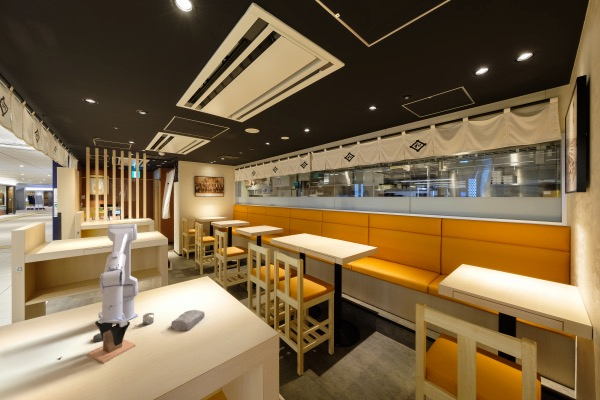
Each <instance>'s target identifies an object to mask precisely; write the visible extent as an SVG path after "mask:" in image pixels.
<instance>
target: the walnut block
mask: <svg viewBox="0 0 600 400" xmlns="http://www.w3.org/2000/svg"><path fill="white" fill-rule="evenodd" d="M102 346H103V350H104V351H106V352H108V353H111V352H113V351H115V350H117V349H119V348H121V347H122V343H121V344H119V345H117V346H115V345H114V341H113V335H112V333H111V331H110V330H109V331H107V332H105V333H103V340H102Z"/></svg>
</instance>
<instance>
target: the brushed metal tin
mask: <svg viewBox="0 0 600 400" xmlns="http://www.w3.org/2000/svg"><path fill="white" fill-rule="evenodd" d="M154 319H155V313H154V312H149V313H145V314H143V315H142V326H149V325H153V324H154Z"/></svg>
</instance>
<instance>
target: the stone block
mask: <svg viewBox="0 0 600 400" xmlns="http://www.w3.org/2000/svg"><path fill="white" fill-rule="evenodd" d="M205 315H206V314H205V311H203V310H198V309H191V310H187V311H185V312H183V313H182V314H180V315H179V316H178V317H176V318H175V319H173V320H172V321H171V328H172V330H177V331H190V330H192V329H193V328H194V327H195V326H196V325H197V324H199V323H200V322H201V321H202V320H204V318H205Z"/></svg>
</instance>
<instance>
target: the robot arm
mask: <svg viewBox="0 0 600 400" xmlns="http://www.w3.org/2000/svg"><path fill="white" fill-rule="evenodd" d="M106 233H107V238H108V239H109V241H111V242H112V246H111V247H112V249H111V253H110V254H109V255H108V256H107V257H106V262H105V265H104V270H103V271H104V272H102V273H101V274H100V277H99V287H100V294H102V297H101V300H102V301H101V302H102V303H101V304H102V305H101V311H99V312H98V319H97V320H96V321H94V324H95V325H96V326H97V328H98V330H99V333H101V336H102V339H103V333H105V332H107V331H109V330H110V331H111V333H112V335H113V341H114V345H115V346H117V345H119V344H121V343H122V342H123V339H125V334H126V332H127V330H128V328H129V326H130V325H131V322H130V320H131V319H134V318H137V317H138V316H139V314H138V313H135V297H137V295H138V294H139V282H138V281H139V280H138V278H136V277H134V276H133V275H131V270H132V267H131V262H132V261H131V260H132V259H131V253H132V252H131V248H132V247H131V246H132V243H133V242H134V241H136V240H137V239H138V224H136V223H124V224H109V225H108V227H107V232H106ZM113 324H115V325H113Z"/></svg>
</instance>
